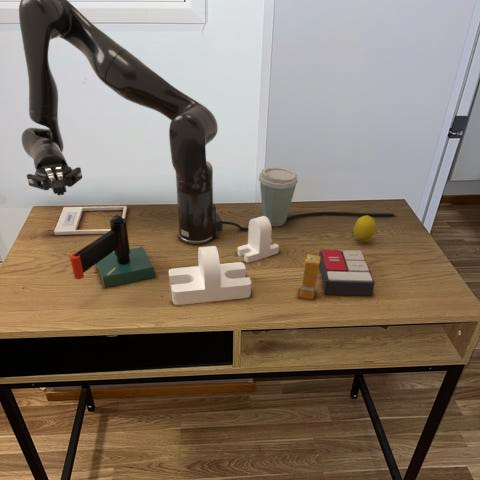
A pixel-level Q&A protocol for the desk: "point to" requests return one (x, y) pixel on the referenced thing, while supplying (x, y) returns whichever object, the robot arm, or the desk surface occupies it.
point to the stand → (125, 268)
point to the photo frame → (72, 217)
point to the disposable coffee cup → (277, 193)
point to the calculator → (345, 273)
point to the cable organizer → (258, 241)
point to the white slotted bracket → (209, 280)
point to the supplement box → (310, 276)
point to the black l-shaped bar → (102, 247)
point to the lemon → (364, 228)
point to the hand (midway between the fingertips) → (60, 191)
